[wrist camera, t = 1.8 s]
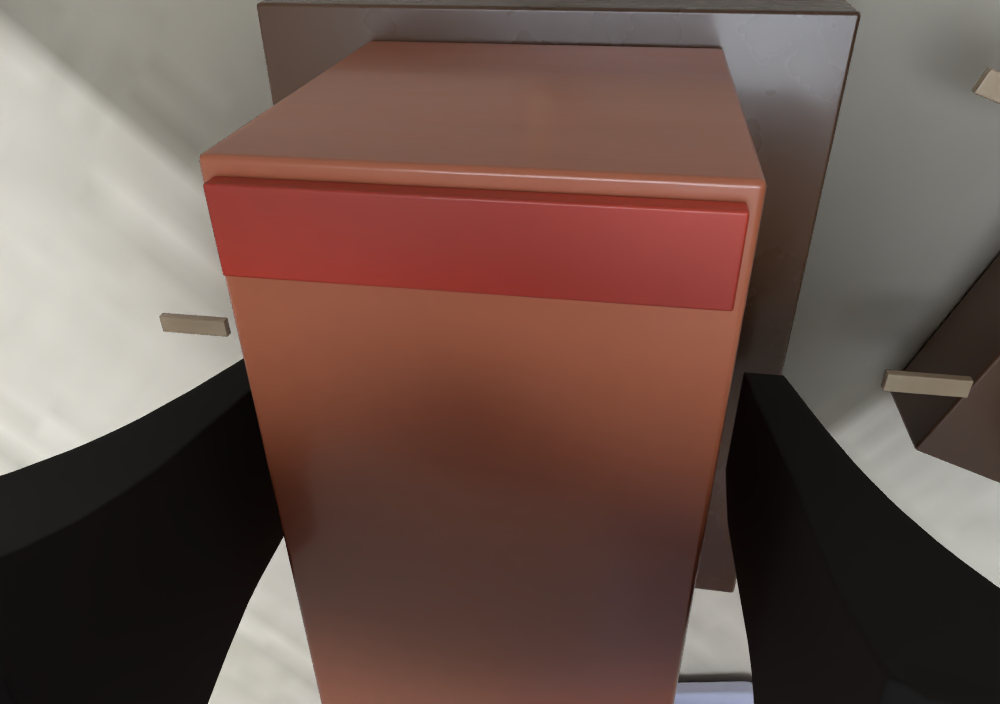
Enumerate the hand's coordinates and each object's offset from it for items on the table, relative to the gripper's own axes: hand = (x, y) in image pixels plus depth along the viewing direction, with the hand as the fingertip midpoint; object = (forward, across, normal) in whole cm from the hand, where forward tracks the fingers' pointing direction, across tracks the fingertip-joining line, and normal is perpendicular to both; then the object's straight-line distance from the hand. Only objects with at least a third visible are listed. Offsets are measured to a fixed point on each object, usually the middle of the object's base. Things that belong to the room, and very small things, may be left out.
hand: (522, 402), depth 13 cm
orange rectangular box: (+2, 0, 0) cm, 2 cm away
